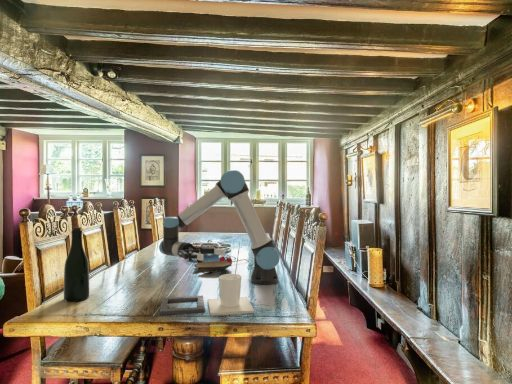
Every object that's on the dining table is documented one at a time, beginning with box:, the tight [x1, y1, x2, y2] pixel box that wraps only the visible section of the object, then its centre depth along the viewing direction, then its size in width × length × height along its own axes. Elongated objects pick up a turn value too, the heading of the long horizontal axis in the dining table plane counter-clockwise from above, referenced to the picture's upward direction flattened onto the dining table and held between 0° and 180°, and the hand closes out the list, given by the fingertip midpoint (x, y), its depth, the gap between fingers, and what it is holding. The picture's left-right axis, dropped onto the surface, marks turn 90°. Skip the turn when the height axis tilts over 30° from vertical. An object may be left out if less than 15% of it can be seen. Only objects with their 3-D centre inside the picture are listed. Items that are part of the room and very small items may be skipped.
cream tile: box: [207, 296, 255, 316], centre depth 149 cm, size 18×18×1 cm
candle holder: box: [218, 273, 242, 308], centre depth 149 cm, size 10×10×12 cm
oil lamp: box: [193, 260, 232, 273], centre depth 215 cm, size 22×30×8 cm
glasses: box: [218, 255, 250, 265], centre depth 240 cm, size 14×16×5 cm
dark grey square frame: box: [159, 295, 206, 316], centre depth 149 cm, size 18×18×2 cm
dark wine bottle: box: [63, 226, 90, 303], centre depth 158 cm, size 10×10×33 cm
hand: (214, 255), depth 155 cm, fingers open, 13 cm apart
